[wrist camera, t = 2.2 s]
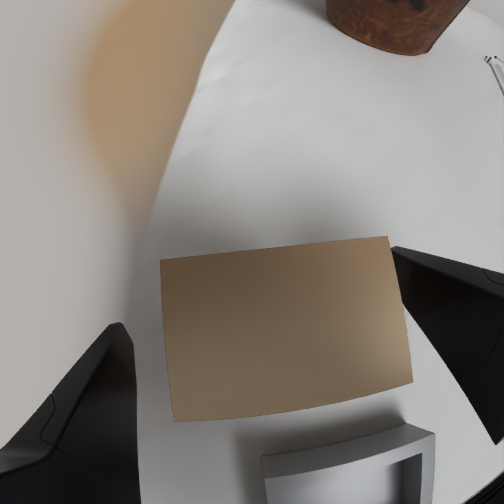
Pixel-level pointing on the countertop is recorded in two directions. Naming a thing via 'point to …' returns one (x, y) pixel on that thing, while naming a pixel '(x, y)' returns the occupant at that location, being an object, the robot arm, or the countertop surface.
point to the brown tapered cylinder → (395, 22)
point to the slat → (282, 328)
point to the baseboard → (498, 73)
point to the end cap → (356, 470)
